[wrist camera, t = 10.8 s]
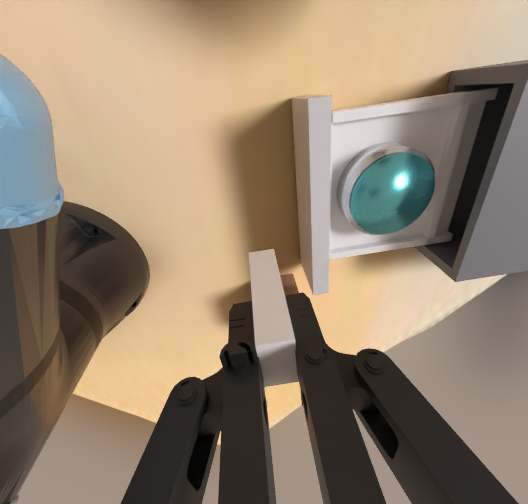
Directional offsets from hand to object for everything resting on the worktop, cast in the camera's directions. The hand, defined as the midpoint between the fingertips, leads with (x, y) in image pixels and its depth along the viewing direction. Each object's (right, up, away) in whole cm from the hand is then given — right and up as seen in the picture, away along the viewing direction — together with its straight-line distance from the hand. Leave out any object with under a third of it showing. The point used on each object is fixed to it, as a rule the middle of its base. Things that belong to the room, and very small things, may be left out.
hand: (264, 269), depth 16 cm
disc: (+11, +7, +9) cm, 16 cm away
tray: (+11, +8, +10) cm, 17 cm away
